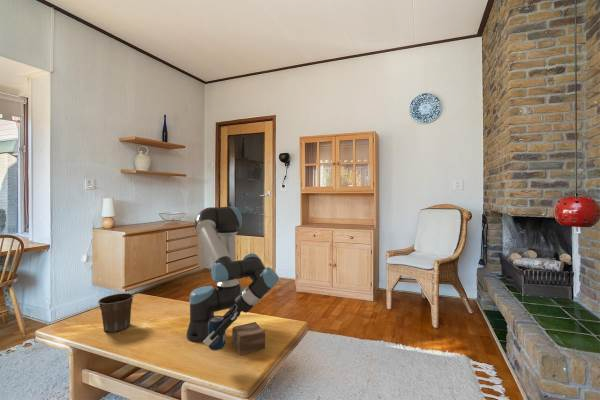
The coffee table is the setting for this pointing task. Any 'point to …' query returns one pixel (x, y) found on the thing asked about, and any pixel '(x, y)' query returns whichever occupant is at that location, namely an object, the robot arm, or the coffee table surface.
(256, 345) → the block
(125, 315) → the plant pot
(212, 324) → the soda can
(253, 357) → the coffee table surface
